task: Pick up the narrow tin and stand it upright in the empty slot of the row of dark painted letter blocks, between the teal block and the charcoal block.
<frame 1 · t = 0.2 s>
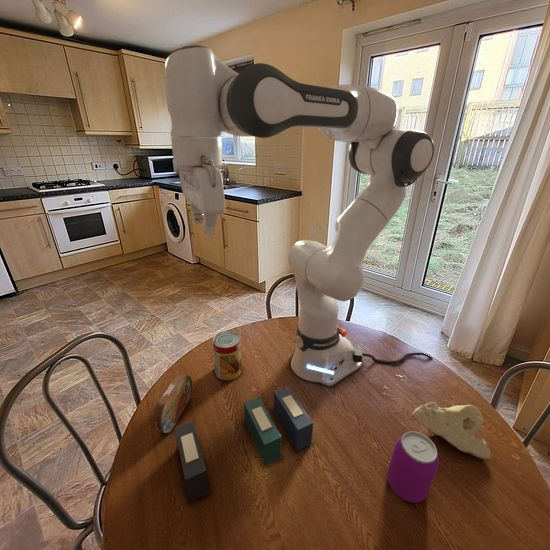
hand: (203, 228, 60), 48 cm above the table, tool pointing down, fingers open, 8 cm apart
block 2: (261, 439, 69), on the table
beverage can: (405, 484, 60), on the table
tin: (175, 414, 75), on the table
block 1: (291, 426, 72), on the table
cheese: (443, 441, 69), on the table
block 3: (192, 469, 62), on the table
canned food: (228, 371, 89), on the table
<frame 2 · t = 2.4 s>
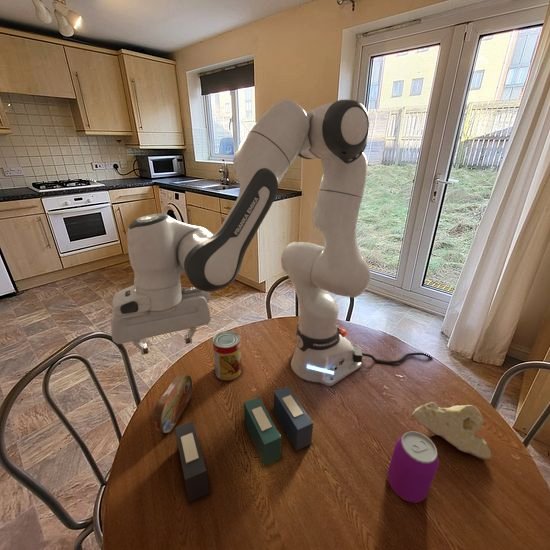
hand: (167, 347, 66), 21 cm above the table, tool pointing down, fingers open, 8 cm apart
nothing on the table moved.
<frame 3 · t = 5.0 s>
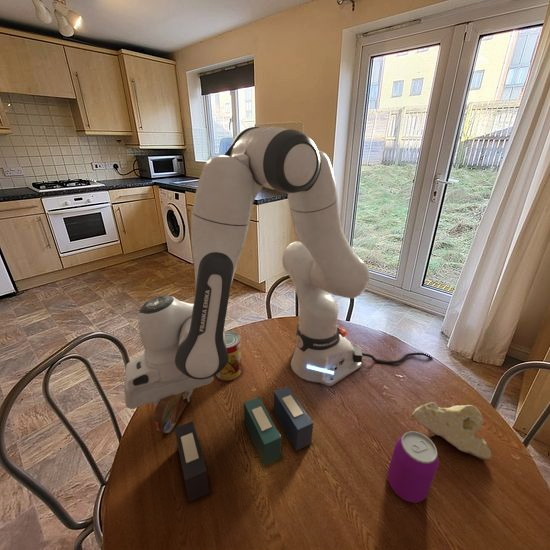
hand: (174, 404, 73), 3 cm above the table, tool pointing down, fingers closed on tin, 4 cm apart
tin: (175, 414, 75), on the table, touching gripper
everything else where it was.
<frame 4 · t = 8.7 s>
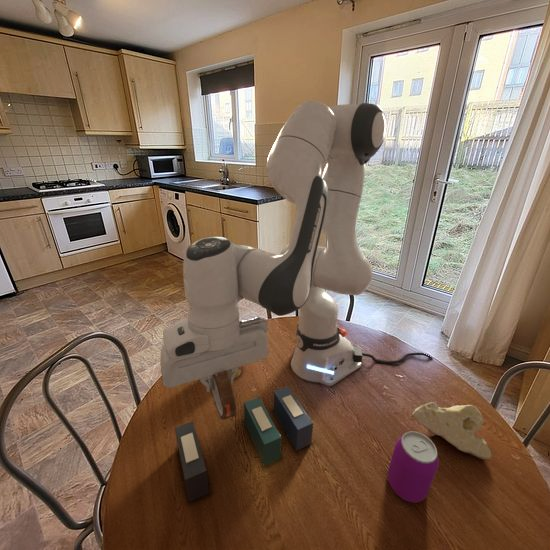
hand: (219, 385, 58), 19 cm above the table, tool pointing down, fingers closed on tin, 2 cm apart
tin: (218, 399, 59), point 16 cm above the table, touching gripper
everything else where it was.
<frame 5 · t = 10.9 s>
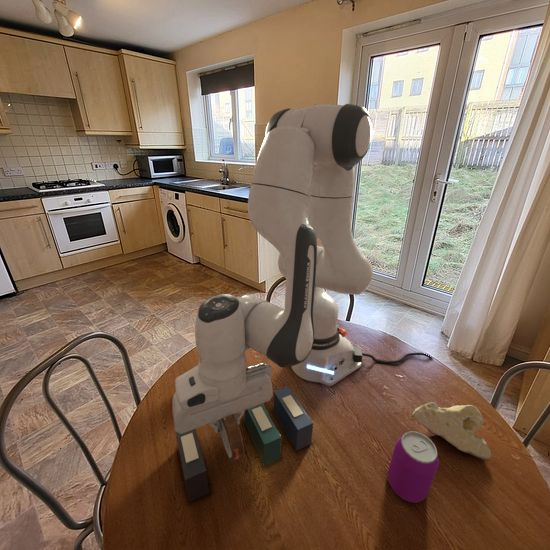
hand: (226, 426, 62), 9 cm above the table, tool pointing down, fingers closed on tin, 2 cm apart
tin: (225, 438, 63), point 6 cm above the table, touching gripper
everything else where it was.
when the fingers open (3 cm above the table, at t = 12.5 s): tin stays where it is, on the table.
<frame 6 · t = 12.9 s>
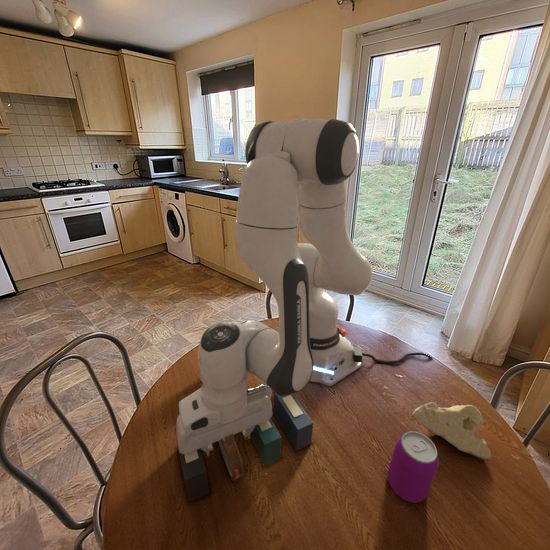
hand: (228, 444, 64), 3 cm above the table, tool pointing down, fingers open, 7 cm apart
block 2: (261, 439, 69), on the table, touching gripper
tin: (227, 455, 65), on the table
block 3: (192, 469, 62), on the table, touching gripper
everything else where it was.
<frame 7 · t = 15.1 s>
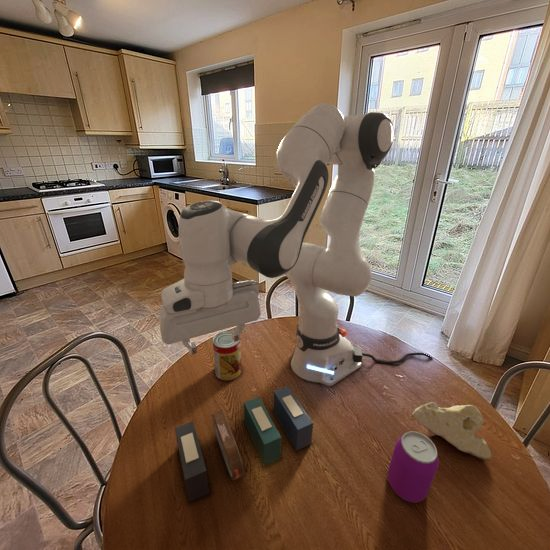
hand: (215, 345, 62), 24 cm above the table, tool pointing down, fingers open, 8 cm apart
block 2: (261, 439, 69), on the table
block 3: (192, 469, 62), on the table
everything else where it was.
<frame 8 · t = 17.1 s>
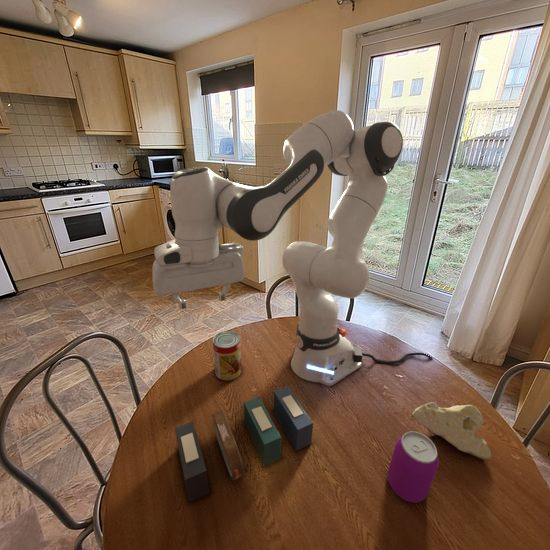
hand: (203, 303, 68), 29 cm above the table, tool pointing down, fingers open, 8 cm apart
nothing on the table moved.
at the end: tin 0.4 cm from the target spot, on the table; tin tilted 0°; block 3 moved 0.0 cm from its start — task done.
